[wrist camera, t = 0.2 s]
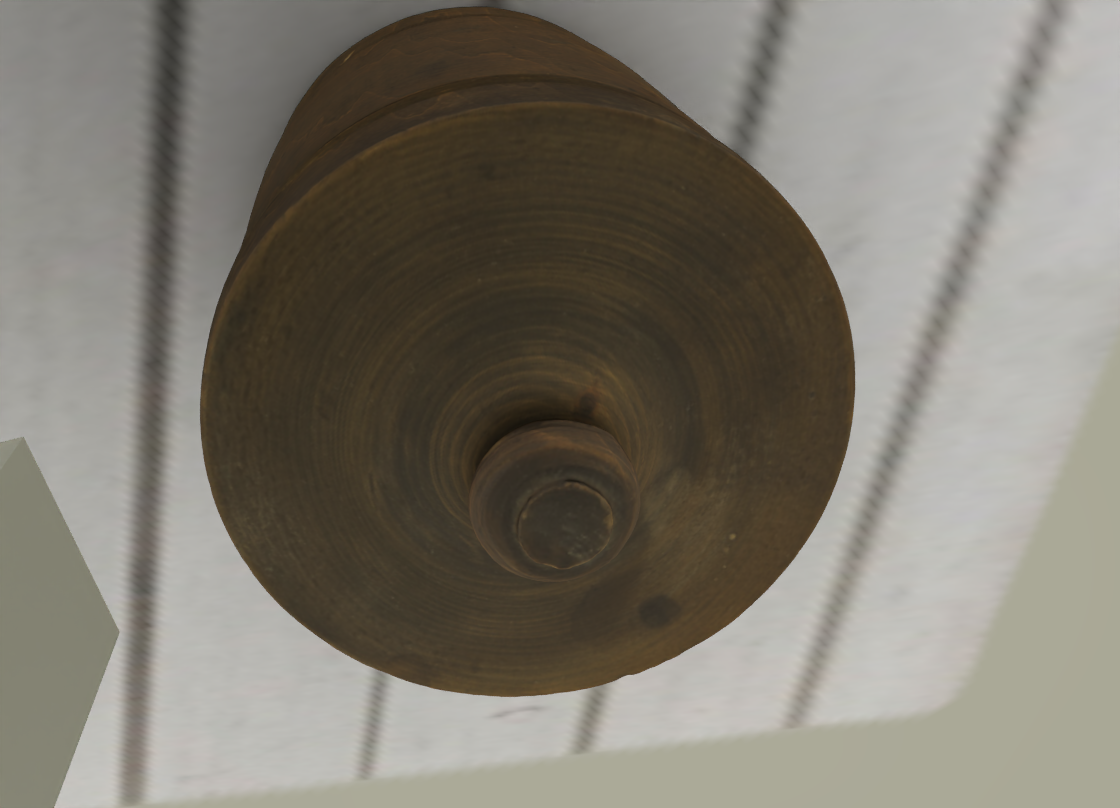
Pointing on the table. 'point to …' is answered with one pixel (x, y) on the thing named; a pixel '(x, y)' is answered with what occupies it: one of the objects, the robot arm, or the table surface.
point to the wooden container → (518, 365)
